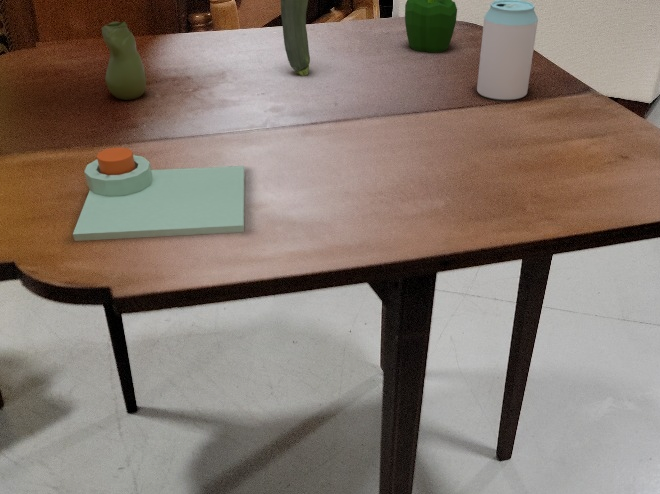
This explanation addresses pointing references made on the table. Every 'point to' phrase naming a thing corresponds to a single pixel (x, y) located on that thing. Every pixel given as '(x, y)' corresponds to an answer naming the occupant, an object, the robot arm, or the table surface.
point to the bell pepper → (430, 24)
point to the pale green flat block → (161, 202)
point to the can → (507, 49)
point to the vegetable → (296, 34)
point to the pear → (123, 62)
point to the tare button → (116, 161)
